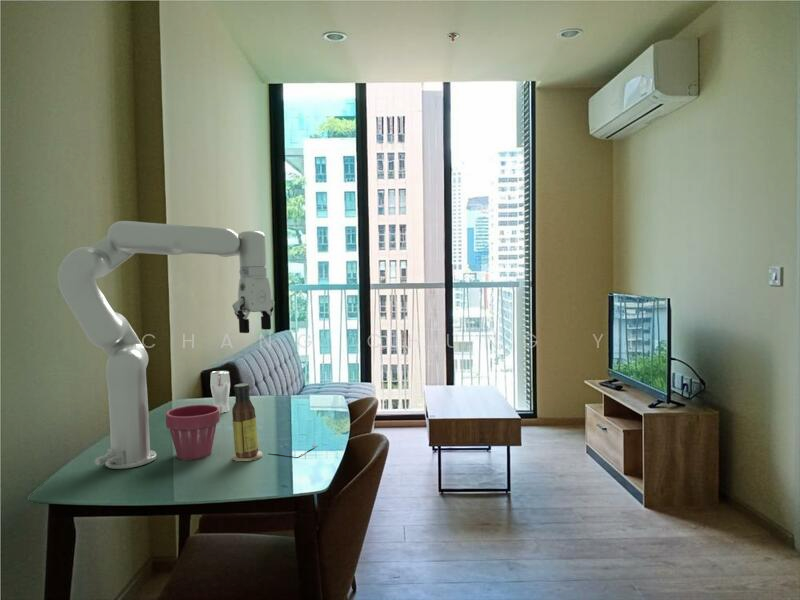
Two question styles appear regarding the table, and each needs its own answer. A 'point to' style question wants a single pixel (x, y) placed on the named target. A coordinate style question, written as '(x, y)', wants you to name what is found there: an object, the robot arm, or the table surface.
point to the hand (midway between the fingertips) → (255, 331)
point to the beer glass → (220, 389)
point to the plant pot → (193, 430)
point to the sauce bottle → (244, 423)
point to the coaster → (247, 458)
